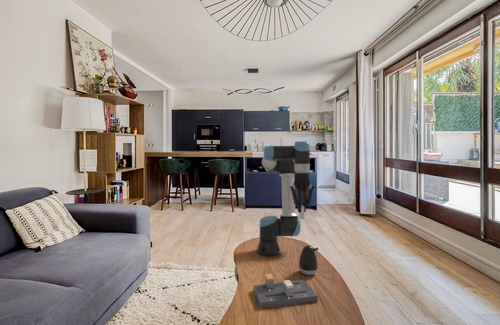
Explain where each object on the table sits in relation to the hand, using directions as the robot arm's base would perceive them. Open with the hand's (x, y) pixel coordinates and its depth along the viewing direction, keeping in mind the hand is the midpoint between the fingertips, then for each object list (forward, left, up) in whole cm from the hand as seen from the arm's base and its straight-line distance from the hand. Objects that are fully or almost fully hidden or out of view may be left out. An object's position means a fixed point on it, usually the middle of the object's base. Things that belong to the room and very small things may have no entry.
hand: (301, 218), depth 134 cm
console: (+11, -13, -32) cm, 37 cm away
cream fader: (+14, -12, -30) cm, 35 cm away
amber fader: (+6, -19, -30) cm, 36 cm away
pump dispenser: (-8, +7, -33) cm, 34 cm away
